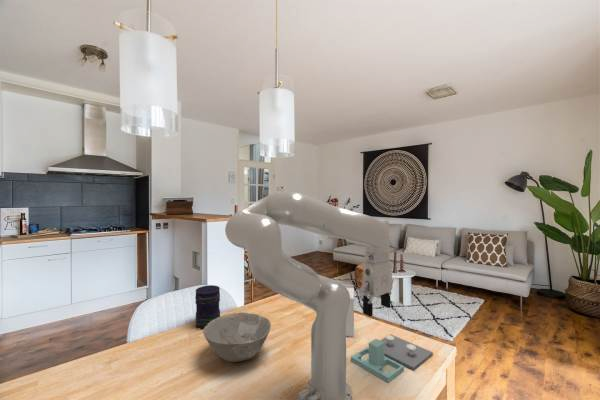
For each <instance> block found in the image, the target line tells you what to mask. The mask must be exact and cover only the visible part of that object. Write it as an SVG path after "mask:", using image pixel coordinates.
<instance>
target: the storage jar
mask: <svg viewBox="0 0 600 400" xmlns="http://www.w3.org/2000/svg"><path fill="white" fill-rule="evenodd" d="M194 300H195V305H196V306H195V308H196V310H195V327H196V326H197V327H198V328H200V329H199V330H202V329H204V328H205V326H207V324H208V323H209V322H211V321H212V320H214V319H216V318H218V317H221V309H220V300H221V293H220V286H217V285H204V286H200V287H198V288H196V289H195V299H194ZM197 327H196V328H197ZM198 328H197V329H198Z"/></svg>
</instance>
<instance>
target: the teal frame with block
mask: <svg viewBox="0 0 600 400" xmlns="http://www.w3.org/2000/svg"><path fill="white" fill-rule="evenodd" d="M380 340H381V339H378V338H375V339H373V340H371V341H370V342H368V347H367V346H366V347H364V348H363V349H361V350H360V351H358V352H356V353H354V354H353V355H351V356H350V362H352V363H354V364H355V365H357V366H359V367H360V368H362V369H364V370H366V372H367V371H368V372H369V373H371V374H373V375H374V376H376V377H377V378H379V379H381V380H383V381H384V382H386V383H390V382H391V381H393V380H394V379H395V378H396V377H398V376H399V375H401V373H403V372H404V371H405V366H403V365H401V364H399V363H397V362H395V361H393V360H391V359H389V358H387V357H385V343H384V342H382V341H380ZM365 354H368V358H366V359H365V360H362V356H364V355H365ZM386 365H389V366H391V367H393V368H394V369H396V370H394V371H392V370H388V371H387V372H386V373H385V372H383V368H384V366H386Z"/></svg>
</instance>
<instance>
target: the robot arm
mask: <svg viewBox="0 0 600 400" xmlns="http://www.w3.org/2000/svg"><path fill="white" fill-rule="evenodd" d="M279 225H285V226H289V227H293V228H297V229H300V230H303V231H307V232H311V233H315V234H317V235H321V236H322V237H323V236H325V237H329V238H335V239H341V240H345V241H347V242H348V243H352V244H357V245H363V246H364V265H363V274H362V285H361V286H360V288H359V289H358V292H357V293H358V294H359V298H360V300H361V302H362V313H363V315H366V316H368V317H373V314H374V313H373V306H374V305H373V303H372V301H373V299H374V297H376V298H378V297H380V305H381V306H382V307H385V308H387V309H389V308H391V296H392V291H393V284H394V279H393V273H392V266H391V265H392V264H391V260H390V221H389V219H387V218H381V217H380V218H379V217H374V216H370V215H368V214H364V213H360V212H357V211H353V210H350V209H347V208H344V207H340V206H336V205H333V204H329V203H327V202H325V201H322V200H320V199H317V198H314V197H311V196H309V195H306V194H304V193H301V192H298V191H297V192H296V191H280V192H279V191H277V192H273V193H270V194H268V195H266V196H265V197H262V198H260V199H259V200H257V201H255V202H254V203H252V204H250V205H248V206H245V208H243V209H240V210H238V211H237V212H235V213H234V214H233V215H231V216H230V218H228V220H227V222H226V224H225V229H224V230H225V236H226V239H228V242H230V243H231V244H232V245H233V246H236V247H238V248H241V249H243V250H246V251H247V259H248V266H249V270H250V273H251V275H252V277H253V278H254V279H255V280H256V281H257V282H259V283H261V284H262V285H263V286H265V287H268V288H269V289H271V290H272V292H274V293H277V294H279V295H280V296H283V297H284V298H286V299H288V300H291V301H294V302H296V303H299V304H300V305H303V306H304V307H307V308H308V309H310V310H312V311H314V312H315V313H316V315H315V319H314V320H313V322H312V325H311V328H310V379H308V380H307V381H308V383H307V384H306V386H305V389H303V390H301V391H299V392H298V393H297V395H296V396H297V399H298V400H352V399H353V392H352V389H351V386H350V385H349V384H348V383H347V336H346V321H347V314H348V309H349V304H350V294H349V292H348V290H347V288H346V287H345V286H344V285H345V284H344V285H343V283H342V282H340V281H338V280H336V279H332V278H330V277H327V276H323V275H320V274H318V273H317V272H316V271H315V270H314V269H313V268H311V267H310V265H309V266H308V265H307V264H305V263H302V262H300V261H298V260H296V259H295V258H293V257H291V256H290V255H288V254H287V253H286V252H284V251H283V246H282V232H281V229H280V226H279ZM368 296H369V297H368Z"/></svg>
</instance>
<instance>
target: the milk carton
mask: <svg viewBox="0 0 600 400" xmlns="http://www.w3.org/2000/svg"><path fill="white" fill-rule="evenodd" d="M342 284H343V283H342ZM343 285H344V286H345V287H346V288H347V290H348V292H349V294H350V304H349V309H348V314H347V321H346V337H349V338H350V337H352V338H354V336H355V333H354V332H355V285H354V284H343Z"/></svg>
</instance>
